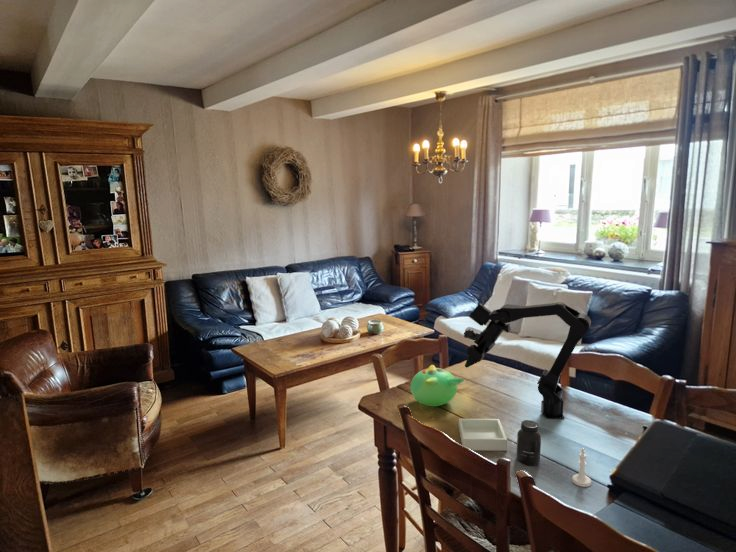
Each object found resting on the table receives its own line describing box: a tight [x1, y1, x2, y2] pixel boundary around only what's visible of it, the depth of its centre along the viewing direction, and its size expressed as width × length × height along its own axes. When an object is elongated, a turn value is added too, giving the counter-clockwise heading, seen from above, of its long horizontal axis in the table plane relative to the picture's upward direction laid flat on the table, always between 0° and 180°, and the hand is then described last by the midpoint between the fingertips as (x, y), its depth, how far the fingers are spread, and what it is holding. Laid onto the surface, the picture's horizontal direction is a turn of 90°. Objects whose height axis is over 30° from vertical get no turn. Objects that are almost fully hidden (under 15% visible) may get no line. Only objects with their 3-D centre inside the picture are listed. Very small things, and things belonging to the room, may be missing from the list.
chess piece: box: [571, 447, 592, 488], centre depth 129 cm, size 5×5×10 cm
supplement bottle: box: [515, 419, 542, 467], centre depth 139 cm, size 7×7×12 cm
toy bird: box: [410, 364, 465, 407], centre depth 179 cm, size 18×17×15 cm
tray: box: [458, 418, 508, 452], centre depth 153 cm, size 14×14×4 cm
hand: (469, 362), depth 181 cm, fingers open, 9 cm apart
